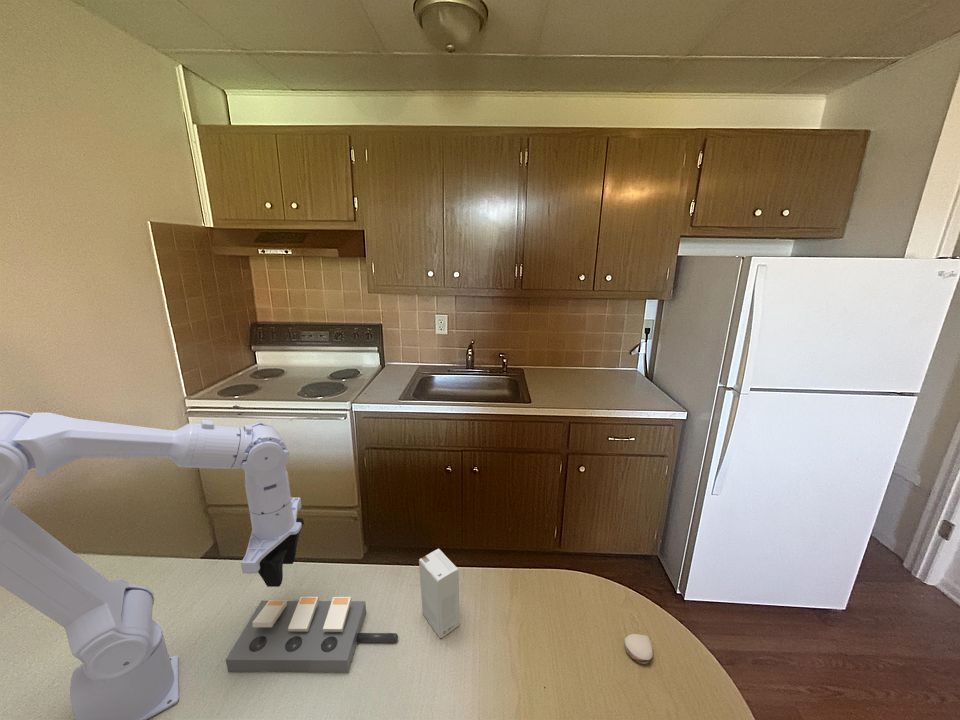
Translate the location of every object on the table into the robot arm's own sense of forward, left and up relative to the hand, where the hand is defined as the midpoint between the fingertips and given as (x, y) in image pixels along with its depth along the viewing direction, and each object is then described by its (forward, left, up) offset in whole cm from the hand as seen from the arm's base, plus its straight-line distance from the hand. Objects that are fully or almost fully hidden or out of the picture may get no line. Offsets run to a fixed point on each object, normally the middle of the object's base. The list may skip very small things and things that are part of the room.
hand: (281, 573), depth 63 cm
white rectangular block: (-2, 0, -7) cm, 7 cm away
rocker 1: (+2, -4, -7) cm, 8 cm away
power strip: (+4, -7, -10) cm, 13 cm away
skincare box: (+21, -15, -11) cm, 28 cm away
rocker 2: (+6, -7, -7) cm, 11 cm away
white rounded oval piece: (+44, -39, -11) cm, 60 cm away
